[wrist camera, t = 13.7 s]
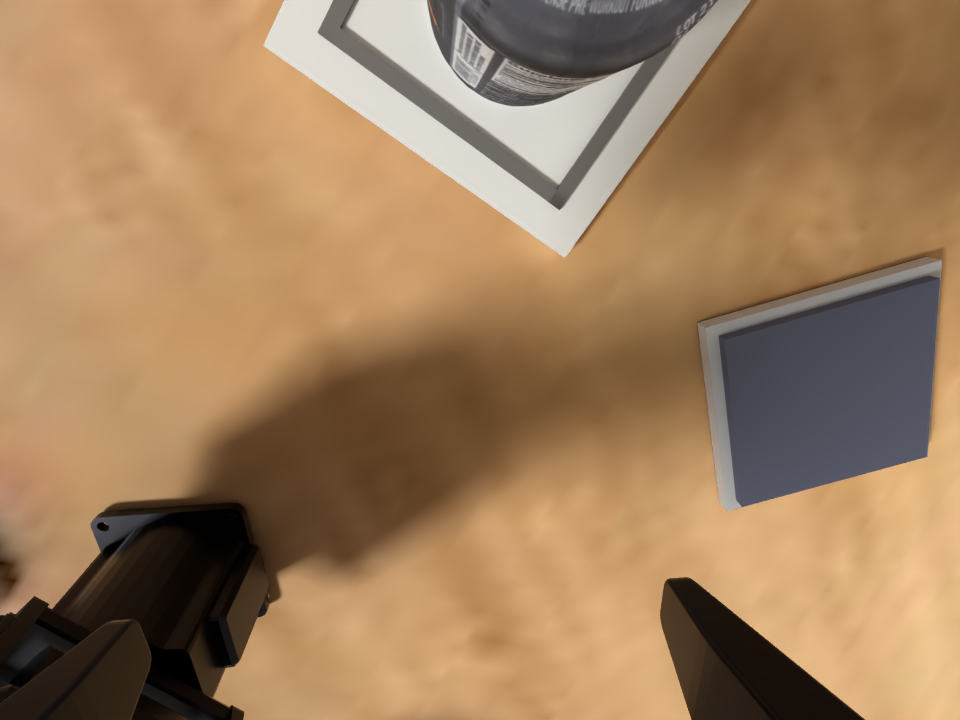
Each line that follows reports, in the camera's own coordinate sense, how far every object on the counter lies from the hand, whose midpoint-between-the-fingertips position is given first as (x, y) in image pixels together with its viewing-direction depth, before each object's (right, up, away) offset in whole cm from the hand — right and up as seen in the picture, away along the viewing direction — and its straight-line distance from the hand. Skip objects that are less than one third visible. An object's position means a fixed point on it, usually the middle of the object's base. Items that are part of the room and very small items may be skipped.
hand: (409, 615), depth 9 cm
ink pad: (+16, +3, +14) cm, 22 cm away
